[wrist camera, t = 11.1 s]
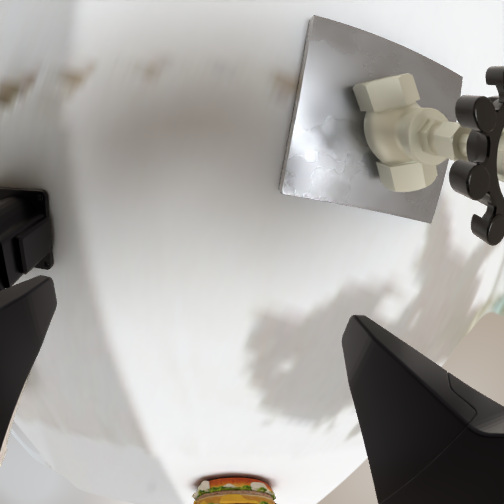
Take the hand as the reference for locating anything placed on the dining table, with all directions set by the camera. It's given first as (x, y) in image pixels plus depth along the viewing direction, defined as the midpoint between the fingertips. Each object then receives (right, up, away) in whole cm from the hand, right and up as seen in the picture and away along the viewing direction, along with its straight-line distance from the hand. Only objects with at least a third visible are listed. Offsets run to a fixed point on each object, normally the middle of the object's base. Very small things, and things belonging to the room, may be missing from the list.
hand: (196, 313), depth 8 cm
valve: (+10, +10, +9) cm, 17 cm away
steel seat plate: (+10, +10, +10) cm, 18 cm away
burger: (-1, -37, +31) cm, 48 cm away
